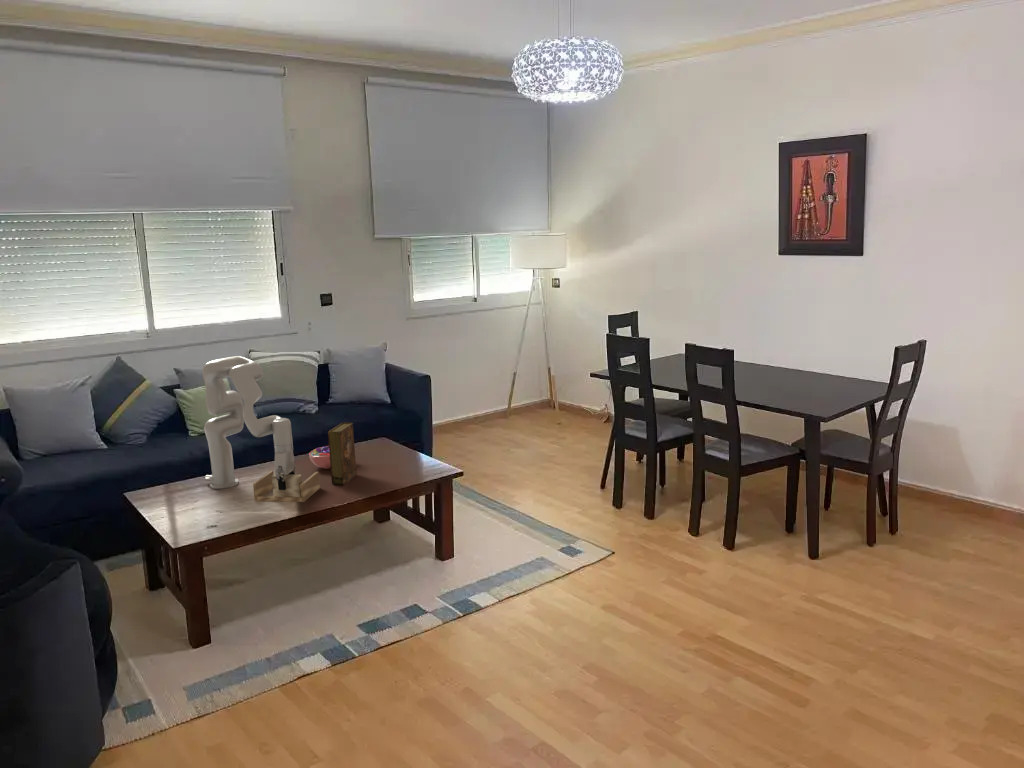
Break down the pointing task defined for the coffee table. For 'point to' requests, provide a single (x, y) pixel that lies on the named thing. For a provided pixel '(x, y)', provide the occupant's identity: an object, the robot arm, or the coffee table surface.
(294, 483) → the birch sheet
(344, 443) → the book
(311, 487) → the pine rack
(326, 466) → the cell model
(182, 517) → the coffee table surface
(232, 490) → the coffee table surface
